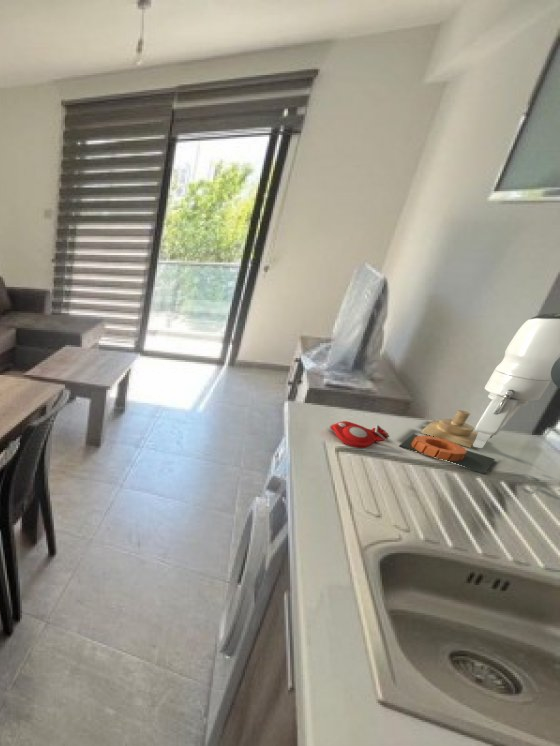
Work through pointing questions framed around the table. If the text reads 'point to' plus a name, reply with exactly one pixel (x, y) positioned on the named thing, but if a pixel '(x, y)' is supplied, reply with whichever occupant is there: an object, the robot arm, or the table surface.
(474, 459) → the mat
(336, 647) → the table surface
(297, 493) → the table surface
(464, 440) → the stand
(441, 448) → the ring
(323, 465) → the table surface
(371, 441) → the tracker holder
